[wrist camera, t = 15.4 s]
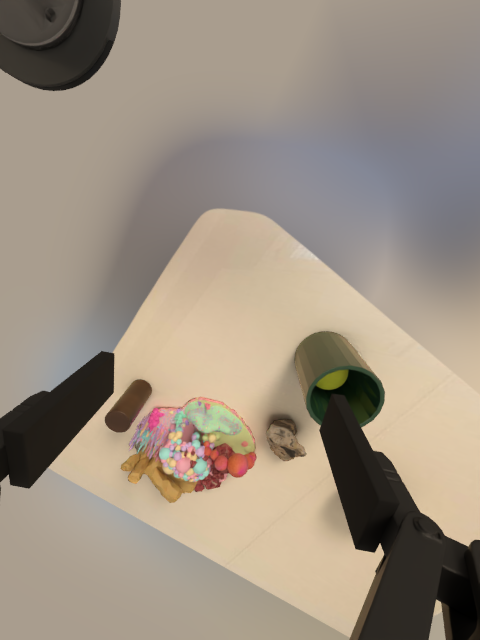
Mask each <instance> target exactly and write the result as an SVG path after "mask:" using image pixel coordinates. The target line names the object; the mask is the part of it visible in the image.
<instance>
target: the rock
mask: <svg viewBox="0 0 480 640" xmlns="http://www.w3.org/2000/svg"><path fill="white" fill-rule="evenodd" d="M296 432H297V429H296V426H295V424H294V422H293V421H292V420H288V419H283V420H277V421H273V424H272V425H270V428H269V429H268V431H267V432H266V434H267V440H268V442H269V445H270V448H271V450H272V451H274V453H275V454H276V455H277V456H278V457H279V458H280V459H282V460H283V461H289V460H291V459H294V457H298V456H301V457H302V456H303V457H304V456H306V452H305V449H304V447H303V446H302V445H300V444H299V443H298V441H297V439H296V438H295V437H294V436H295V435H296Z"/></svg>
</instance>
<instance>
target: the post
mask: <svg viewBox="0 0 480 640" xmlns="http://www.w3.org/2000/svg"><path fill="white" fill-rule="evenodd" d="M151 393H152V388H151V386H150V384H149V383H148V382H146V381H144V380H136V381H134V382H133V383H132V384H131V385H130V386H129V388H128V389H127V390H126V391H125V393H124V394H123V395H122V396H121V397H120V399H119V400H118V401H117V402H116V404H115V405H114V406H113V407H112V409H111V410H110V411H109V412H108V413H107V415H106V417H105V423H106V425H107V426H108V428H109V429H111V430H112V431H115V432H125V431H127V430H128V429H129V428H130V426H131V424H132V423H133V421H134V420H135V418H136V417H137V415H138V414H139V412H140V410H141V409H142V407H143V406H144V404H145V403H146V401H147V400H148V398H149V397H150V395H151Z"/></svg>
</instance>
